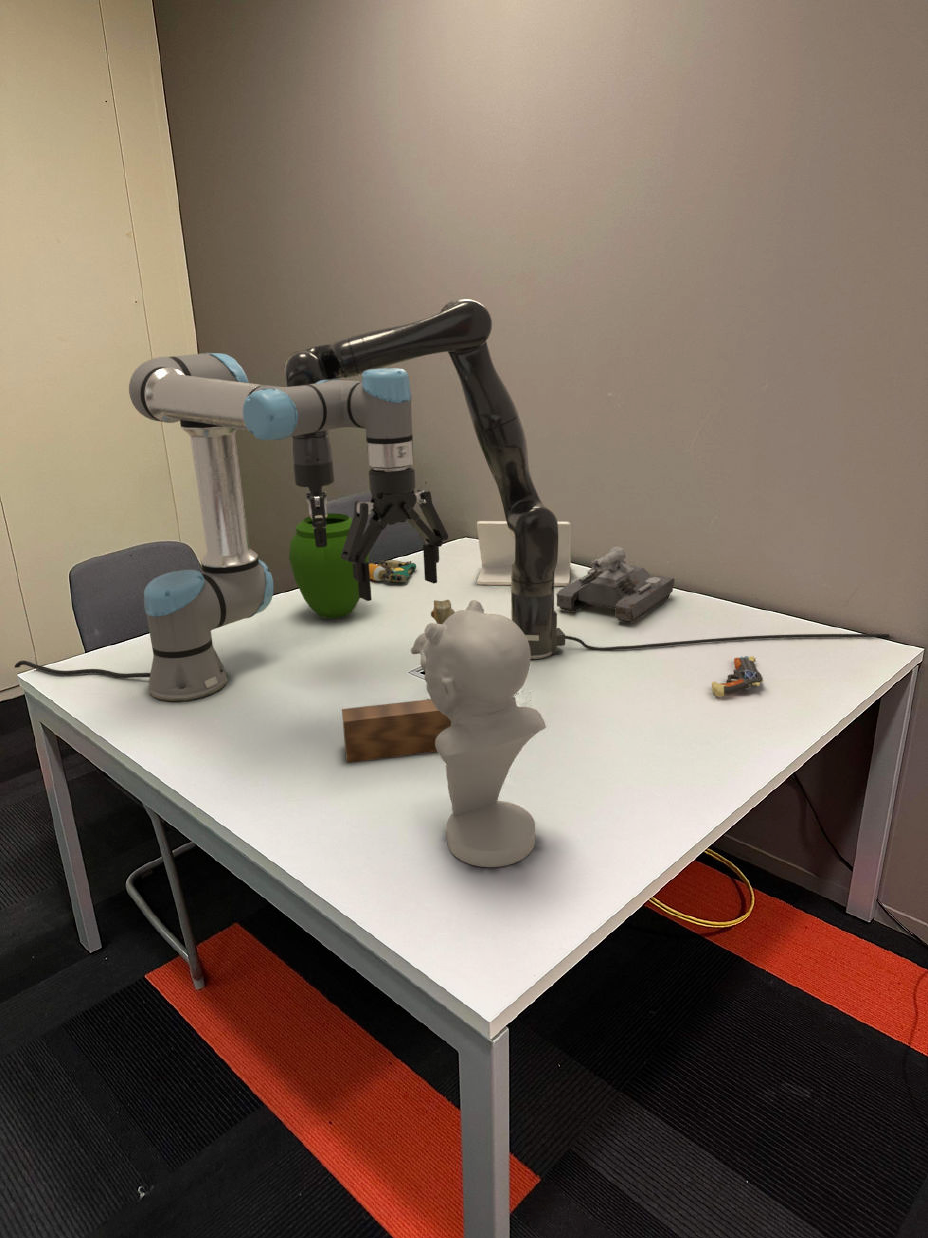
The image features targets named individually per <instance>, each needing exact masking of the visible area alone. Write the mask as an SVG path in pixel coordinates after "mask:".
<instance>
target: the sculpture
mask: <svg viewBox="0 0 928 1238" xmlns="http://www.w3.org/2000/svg"><path fill="white" fill-rule="evenodd" d="M455 612H456V611H455V609H453V608H452V602H451V601H450V599H445V600H433V610H431V612H430V617H431V618H432V619H433V620H434V621H435V622H436V623H435V624H443V623H444V622H445V620H446V619H447V618H448V617H450V616H451V615H452V614H453V613H455Z"/></svg>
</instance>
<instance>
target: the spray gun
mask: <svg viewBox="0 0 928 1238" xmlns="http://www.w3.org/2000/svg"><path fill="white" fill-rule="evenodd" d="M416 569H417V564H416V563H415V562H412V560H410V561H401V560H397V559H388V560H378V561H377V562H376V564H375V563H369V573H370V580H373V581H377V582H381V581H384V580H388V581H389V582H398V583H399V582H400V583H406V581H407V580H408V578H409V577H410V575H411V573H413V572H415V571H416Z"/></svg>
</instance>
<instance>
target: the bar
mask: <svg viewBox="0 0 928 1238" xmlns="http://www.w3.org/2000/svg"><path fill="white" fill-rule="evenodd" d="M341 716H342V717H341V718H342V726H343V727H342V728H343V729H342V730H343V739H344V740H343V741H344V750H345V751H344V752H345V758H346V763H347V764H348V763H357V762H364V761H365V762H367V761H372V760H381V759H388V758H396V757H405V756H413V755H420V754H421V755H422V754H429V753H436V752H437V750H436V747H435V740H436V737H437V736H438V735H439V734H440V733H441V732H442V731H443V730H445V729H446V728H448V727H450V726H451V720H450V719H449V718H448V717H447V716H446V715H443V714H442V713H441V712H440V711H439V710H438V709H437V708H436V706H435V704H434V703H433V702H432V701H431V698H426V699H420V700H419V699H418V700H411V701H410V700H409V701H401V702H392V703H383V704H376V705H375V704H374V705H365V706H357V707H349V708H342V709H341ZM437 753H438V752H437Z"/></svg>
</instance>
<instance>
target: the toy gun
mask: <svg viewBox="0 0 928 1238" xmlns="http://www.w3.org/2000/svg"><path fill="white" fill-rule="evenodd" d="M756 662H757V658H756V657H755V656H753V655H752V656H747V655H745V656H744V657H743V656H740V657H734V658H733V664H734V668H735V669H733V670H732V671H733V673H732V674H731V673H730V674H728V675H727V679H726V682H722V683H721V682H720V683H718V682H717V681H712V682H711V691H712V693H713V695H714V696H715V697H719V698H720V697H724V696H728V695H731V694H735V693H737V692H741V691H745V690H746V689H750V688H752V687H754V686H756V687H760V685H761V683H763V682H765V680H764V679H763V676H762V673H760V671H758V669H757V666H756V664H755V663H756Z"/></svg>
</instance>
